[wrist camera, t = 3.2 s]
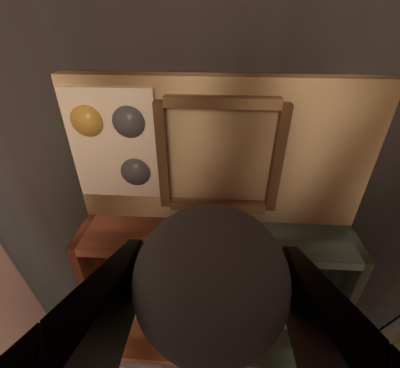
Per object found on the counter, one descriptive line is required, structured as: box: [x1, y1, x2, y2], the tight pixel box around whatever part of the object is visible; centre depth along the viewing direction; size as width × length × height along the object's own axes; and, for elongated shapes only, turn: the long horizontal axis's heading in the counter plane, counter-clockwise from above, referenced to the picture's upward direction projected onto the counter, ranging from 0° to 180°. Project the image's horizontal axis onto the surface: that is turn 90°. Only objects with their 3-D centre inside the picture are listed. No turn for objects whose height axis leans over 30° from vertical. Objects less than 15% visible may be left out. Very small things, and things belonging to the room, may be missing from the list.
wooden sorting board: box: [51, 70, 400, 368], centre depth 17 cm, size 16×20×4 cm
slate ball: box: [131, 204, 292, 368], centre depth 8 cm, size 4×4×4 cm
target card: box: [55, 85, 160, 197], centre depth 14 cm, size 5×6×1 cm
